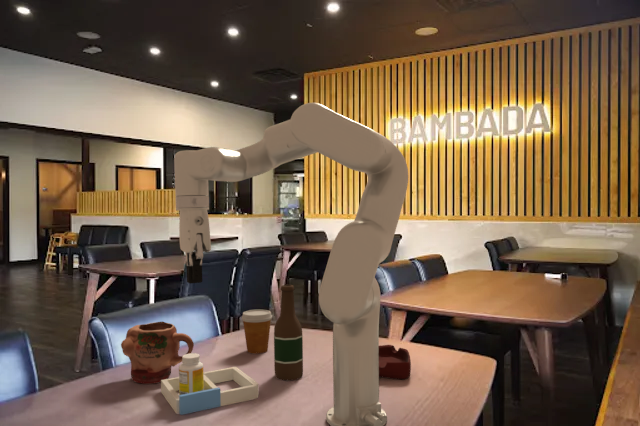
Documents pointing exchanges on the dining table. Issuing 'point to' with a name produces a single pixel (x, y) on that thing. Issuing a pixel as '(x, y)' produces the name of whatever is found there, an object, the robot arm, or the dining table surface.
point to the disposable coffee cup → (257, 330)
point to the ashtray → (394, 362)
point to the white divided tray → (210, 391)
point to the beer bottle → (288, 339)
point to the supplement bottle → (191, 374)
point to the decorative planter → (153, 350)
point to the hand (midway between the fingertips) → (194, 282)
